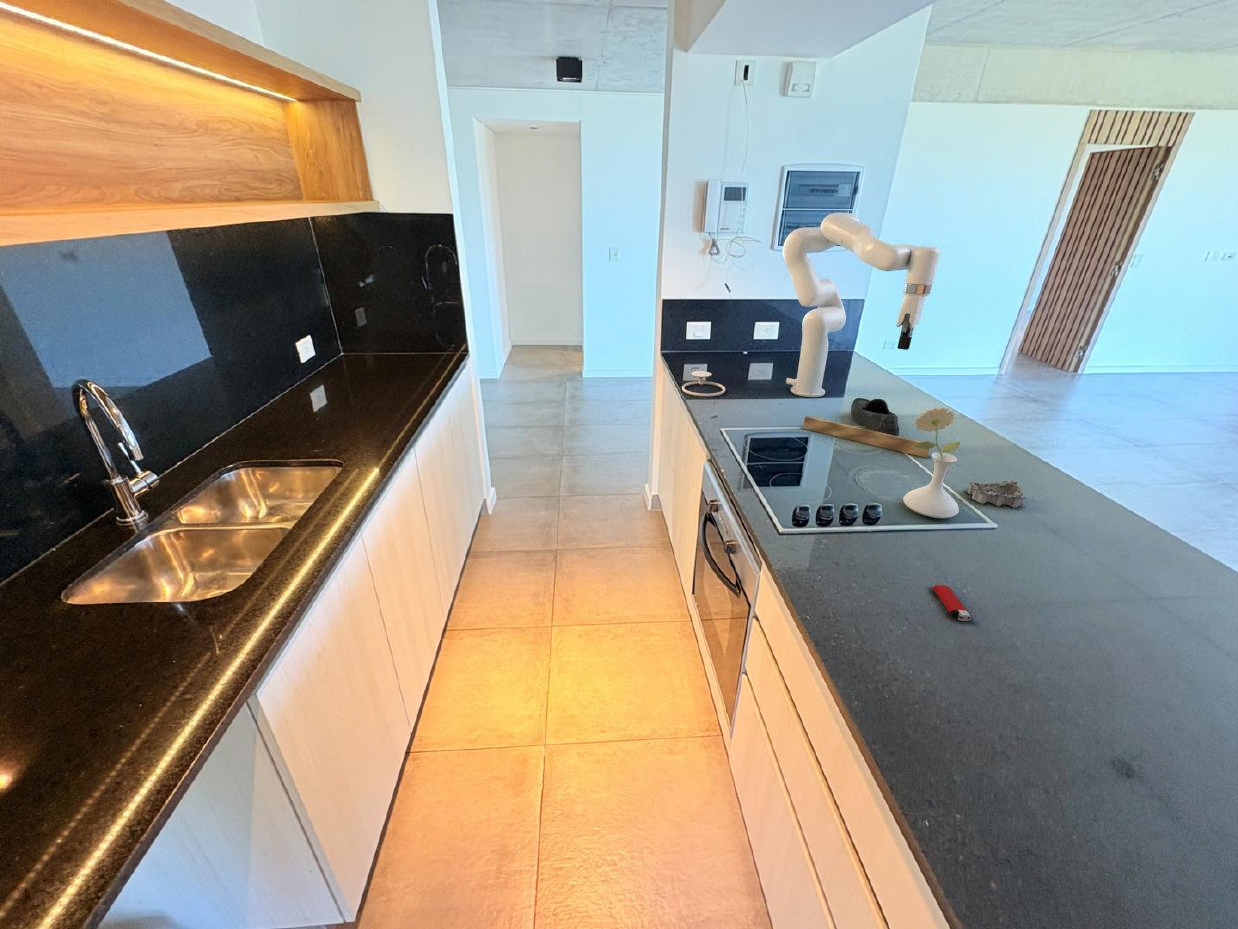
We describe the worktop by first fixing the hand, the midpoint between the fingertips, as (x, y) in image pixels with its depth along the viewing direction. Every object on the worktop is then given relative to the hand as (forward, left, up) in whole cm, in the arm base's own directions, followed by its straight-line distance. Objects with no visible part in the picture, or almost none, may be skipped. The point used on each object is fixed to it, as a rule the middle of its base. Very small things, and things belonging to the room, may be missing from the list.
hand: (903, 348), depth 171 cm
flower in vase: (+24, -62, -23) cm, 70 cm away
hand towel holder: (-65, -13, -23) cm, 70 cm away
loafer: (-1, -15, -23) cm, 28 cm away
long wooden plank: (0, -29, -23) cm, 37 cm away
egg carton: (+36, -46, -23) cm, 63 cm away
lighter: (+35, -96, -23) cm, 105 cm away
